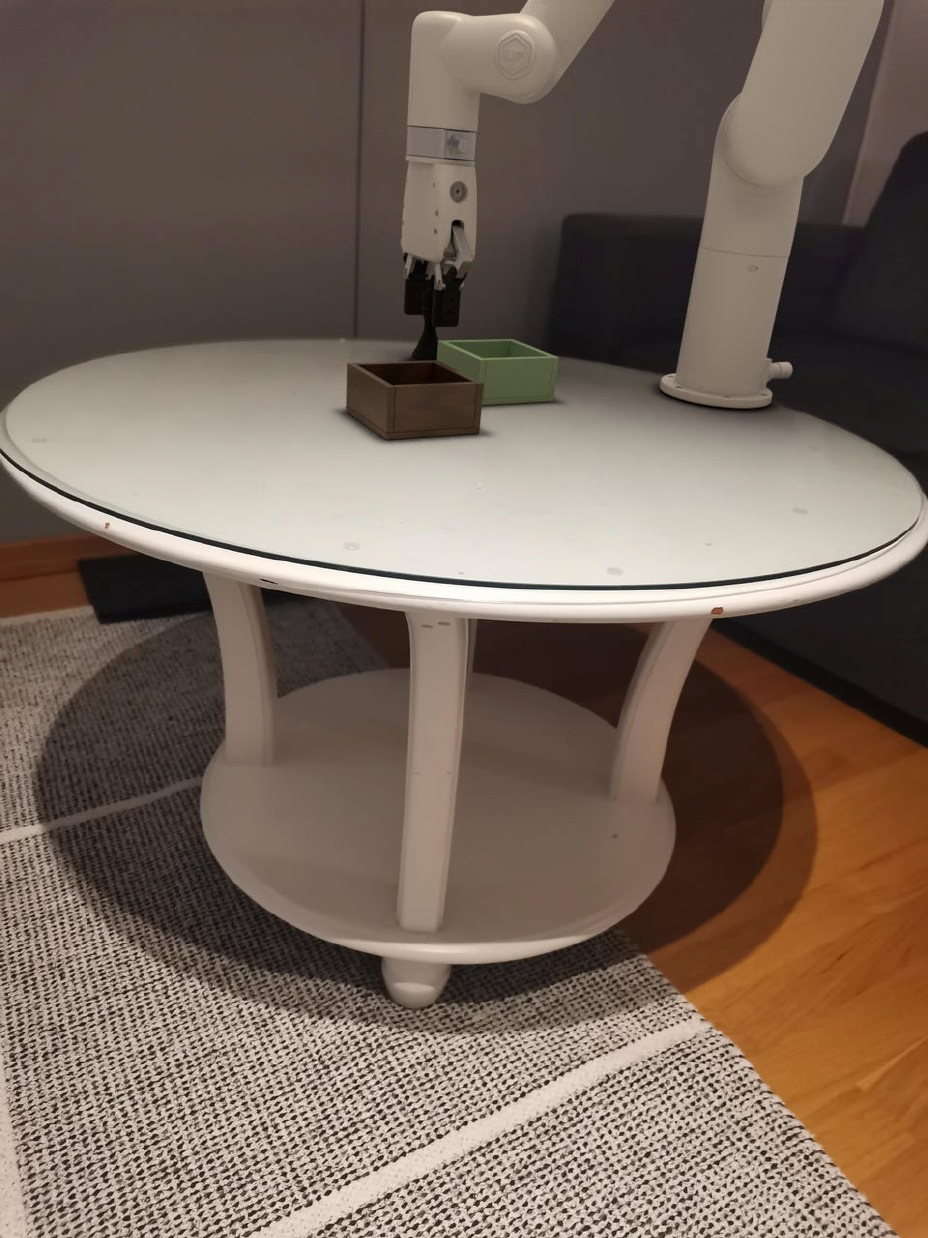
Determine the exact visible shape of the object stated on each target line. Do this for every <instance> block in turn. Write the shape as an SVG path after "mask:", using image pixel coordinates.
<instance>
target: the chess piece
mask: <svg viewBox="0 0 928 1238" xmlns="http://www.w3.org/2000/svg"><path fill="white" fill-rule="evenodd" d="M429 279H430V282H431V289H430V288H429V289H426V290H425V291H424V292H423V294H422V300H423V303H424V304H423V307H421V311H422V314H423V315H422V317H423V321H424V324H423V331H422V334H421V336H420V338H419V340H418V341H417V344H416V346H415V347H414V348H413V351H412V352H411V356H410V357H409V360H408V361H429V360H431V361H432V360H437V349H438V341H440V340H439V338H438V337H439V336H438V334H437V327H434V326H432V323H431V322H432V306H433V290H434V289H435V285H436V284H435V282H436V274H431V277H430V278H429Z"/></svg>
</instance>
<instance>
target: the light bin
mask: <svg viewBox="0 0 928 1238" xmlns="http://www.w3.org/2000/svg"><path fill="white" fill-rule="evenodd" d="M559 360H560V357H559V356H557V355H553V354H551V353H549V352H547V351H545V350H544V351H543V350H541V349H539V348H536V347H534V346H531V345H529V344H526V343H523V342H521V341H520V340H516V339H513V338H505V339H503V338H502V339H500V338H499V339H453V340H452V339H450V340H448V339H447V340H445V339H444V340H439V341H438V349H437V361H439V362H441V363H443V364H445V365H447V366H449V367H452V368H454V369H456V370H458V371H460V372H462V373H464V374H466V375H468V376H470V377H472V378H474V379H476V380H478V381H480V382H482V383H484V388H483V399H482V406H492V405H493V406H494V405H495V406H496V405H513V404H530V403H544V402H546V403H549V402H554V401H555V393H556V384H557V376H558V369H559Z"/></svg>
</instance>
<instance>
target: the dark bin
mask: <svg viewBox="0 0 928 1238" xmlns="http://www.w3.org/2000/svg"><path fill="white" fill-rule="evenodd" d="M483 388H484V383H482V382H480V381H478V380H476V379H474V378H472V377H470V376H468V375H466V374H464V373H462V372H460V371H458V370H456V369H454V368H452V367H449V366H447V365H445V364H443V363H441V362H439V361H437V360H432V361H431V360H429V361H409V360H401V361H400V360H398V361H397V360H396V361H365V362H364V361H363V362H347V363H346V396H345V397H346V398H345V399H346V401H345V403H346V404H345V412H346V413H347V414H349V415H350V416H351V417H353V418H354V419H356V420H357V421H358V422H360V423H362V424H363V425H364V426H366V427H367V428H368V429H370V430H372V431H373V432H375V433H376V434H377V435H378V436H380V437H382V438H383V439H384V440H385V441H388V440H402V439H419V438H431V437H432V438H433V437H444V436H445V437H446V436H461V435H472V434H473V435H475V434H480V431H481V420H482V409H483V405H482V399H483Z"/></svg>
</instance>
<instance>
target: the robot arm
mask: <svg viewBox="0 0 928 1238" xmlns="http://www.w3.org/2000/svg"><path fill="white" fill-rule="evenodd" d="M615 1H616V0H527V1H526V3H525V4H524V6H523V7H522V9H520V12H519V13H518V12H515V13H514V12H513V13H502V14H491V15H470V14H466V13H463V12H462V13H461V12H456V11H448V10H447V11H445V10H430V11H424V12H421V13H419V14H418V15H417V16H416V17H415V19H414V20H413V23H412V27H411V35H410V36H411V37H410V38H411V39H410V58H409V59H410V61H409V79H408V80H409V81H408V101H407V119H406V122H407V124H406V140H405V141H406V142H405V161H408V166H407V171H406V178H405V188H404V194H403V195H404V196H403V205H402V206H403V208H402V218H401V223H402V224H401V238H400V246H401V250H402V254H403V257H402V261H403V263H404V269H403V276H404V278H405V279H404V295H403V296H404V297H403V314H405V315H407V316H423V314H422V311H421V307H423V304H424V303H423V300H422V294H423V292H424V291H425V290H426V289H429V288H430V289H431V282H430V279H431V278H429V276H430V273H431V270H432V266H433V265H434V272H435V282H436V287H437V288H434V290H433V306H432V322H431V323H432V326H434V327H436V328H457V327H458V326H459V322H460V310H461V297H462V291H464V287H465V283H464V282H465V280H466V278H467V276H468V272H469V269H470V267H471V266H472V264H473V262H474V259H475V255H476V246H477V245H476V244H477V226H478V225H477V224H478V221H477V220H478V189H477V188H478V187H477V175H476V156H477V155H476V154H477V153H476V152H477V141H478V129H479V128H478V127H479V113H480V102H481V94H487V95H490V96H495V97H499V98H502V99H504V100H507V101H510V102H512V103H515V104H524V105H525V104H526V105H527V104H533V103H536V102H537V101H540V100H541V99H543V98H544V97H545V96H546V95H548V94H549V93H550V91H552V90H553V88H554V87H555V86H556V84H557V83H558V82H559V80H560V79H561V77H562V76H563V75H564V73H566V71H567V69H568V68H569V66H570V65H571V64H572V63H573V61H574V59H575V58H576V57H577V55H578V54H579V53H580V51H581V50H582V49H583V47H584V46H585V45H586V43H587V42H588V40H589V39H590V37H591V36H592V35H593V33H594V31H596V29H597V27H598V26H599V24H600V23H601V21H602V20H603V18H604V17H605V16H606V14H607V13H608V11H609V10H610V8H611V6H613V4H614V2H615ZM884 2H885V0H764V3H763V7H762V14H761V30H762V31H761V35H760V38H759V40H758V44H757V46H756V49H755V52H754V55H753V58H752V61H751V64H750V67H749V70H748V73H747V76H746V79H745V82H744V84H743V88H742V90H741V92H740V93H739V94H738V95H737V96H736V97H735V98H734V99H733V100H732V101H731V103H730V104H729V105H728V106H727V108H726V110H725V112H724V114H723V116H722V118H721V120H720V123H719V126H718V128H717V133H716V136H715V142H714V146H713V154H712V162H711V169H710V170H711V171H710V178H709V185H708V193H707V198H706V206H705V211H704V215H703V223H702V228H701V234H700V240H699V244H698V245H699V246H698V247H697V248H698V249H697V255H696V259H695V264H694V265H695V266H694V271H693V277H692V283H691V288H690V292H689V293H690V294H689V298H688V305H687V309H686V310H687V312H686V314H685V315H686V316H685V321H684V326H683V332H682V336H681V337H682V338H681V343H680V348H679V354H678V360H677V365H676V371H675V373H669V374H666V375H664V376H663V377H661V378H660V382H659V383H660V384H659V389H660V391H662V392H663V393H664V394H666V395H668V396H670V397H673V398H675V399H679V400H682V401H686V402H690V403H694V404H698V405H704V406H710V407H717V408H727V409H729V408H730V409H758V408H762V407H767V406H768V405H770V404H771V403H772V400H773V392H772V390H771V389H769V388H768V387H767V383H769V382H770V381H771V380H788V379H789V378H790V377H791V376H792V374H793V366H792V364H791V363H790V362H789V361H783V362H782V361H779V362H772V361H773V359H772V358H769V357H768V352H769V347H770V343H771V338H772V333H773V330H774V325H775V321H776V315H777V311H778V306H779V302H780V298H781V293H782V288H783V285H784V279H785V275H786V271H787V266H788V262H789V257H790V255H791V251H792V246H793V242H794V236H795V232H796V227H797V222H798V216H799V212H800V211H799V210H800V204H801V197H802V192H803V184H804V179H805V177H807V175H809V174H810V173H811V172H812V171H813V170H814V169H815V168H816V167H817V166H818V165H819V164H820V163H821V162H822V160H823V158H825V155H826V154H827V152H828V151H829V149H830V146H831V144H832V143H833V140H834V138H835V136H836V133H837V132H838V129H839V126H840V124H841V122H842V119H843V116H844V114H845V111H846V109H847V106H848V104H849V102H850V99H851V96H852V94H853V91H854V89H855V87H856V83H857V81H858V78H859V76H860V73H861V71H862V68H863V66H864V63H865V60H866V58H867V55H868V52H869V50H870V47H871V46H872V42H873V40H874V37H875V34H876V31H877V29H878V26H879V22H880V20H881V17H882V12H883V8H884ZM433 263H434V264H433ZM445 269H448V270H447V271H445Z"/></svg>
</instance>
